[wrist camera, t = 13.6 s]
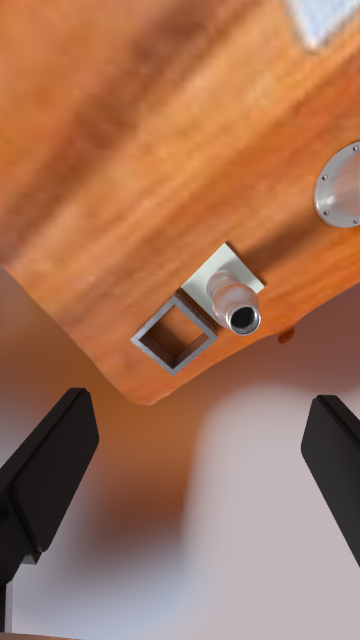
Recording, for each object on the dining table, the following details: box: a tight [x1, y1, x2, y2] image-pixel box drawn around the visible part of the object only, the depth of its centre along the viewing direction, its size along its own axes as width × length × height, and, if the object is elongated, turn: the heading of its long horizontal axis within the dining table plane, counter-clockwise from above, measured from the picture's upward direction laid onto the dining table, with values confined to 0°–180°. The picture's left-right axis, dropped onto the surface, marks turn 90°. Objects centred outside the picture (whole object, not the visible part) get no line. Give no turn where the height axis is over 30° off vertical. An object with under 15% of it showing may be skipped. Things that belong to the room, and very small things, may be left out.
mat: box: [181, 243, 264, 325], centre depth 43 cm, size 12×12×1 cm
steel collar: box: [130, 290, 218, 376], centre depth 45 cm, size 13×12×5 cm
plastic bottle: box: [206, 270, 261, 336], centre depth 33 cm, size 6×7×20 cm
